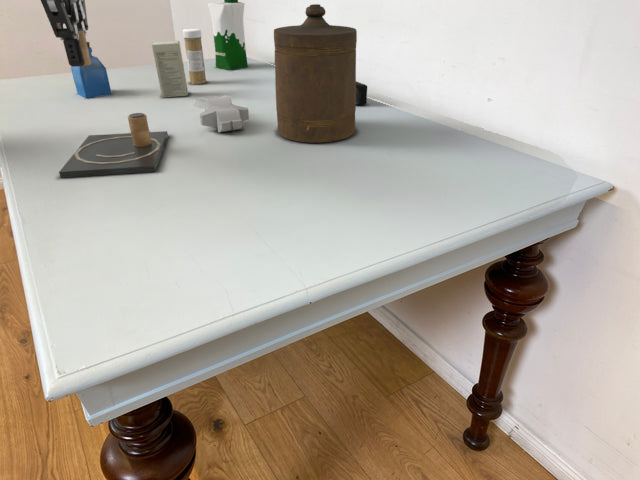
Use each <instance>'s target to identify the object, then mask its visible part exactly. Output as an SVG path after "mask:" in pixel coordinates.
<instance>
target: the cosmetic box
mask: <svg viewBox="0 0 640 480" xmlns="http://www.w3.org/2000/svg"><path fill="white" fill-rule="evenodd" d="M151 49H152V53H153V59H154V64H155V70H156V74H157V79H158V84H159V89H160V94H161V98H174V97H186V96H187V97H188V95H189V89H188V84H187V79H186V73H185V67H184V61H183V54H182V49H181V43H180V40H171V41H154V42H152V43H151Z"/></svg>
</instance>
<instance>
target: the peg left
mask: <svg viewBox="0 0 640 480" xmlns="http://www.w3.org/2000/svg"><path fill="white" fill-rule="evenodd" d="M77 30H78V34H79V40H80V44H81V48H82V52H83V56H84V60H85V64H84V65H83V66H87V65H91V60H90V55H89V51H88V47H87V43H86V41H87V38H86V39H85V37H86V36H85V34H84V31H83V30H81V29H77Z"/></svg>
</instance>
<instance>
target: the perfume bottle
mask: <svg viewBox="0 0 640 480" xmlns="http://www.w3.org/2000/svg"><path fill="white" fill-rule="evenodd" d="M90 44H91V43H90V41H87V46H88V50H89V54H90V58H91V59H90V60H91V65H87V66H70V70H71V74H72V78H73V82H74V86H75V91H76V93H77V95H78V96H81V97H83V98H85V99H91V98H98V97H102V96H109V95H113V93H112V88H111V85H110V80H109V76H108V71H107V68H106V66H105V65H104V64H103V62H102V61H101V60H100V58H98V56H95V55H93V49H92V47H91V45H90Z"/></svg>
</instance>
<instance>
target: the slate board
mask: <svg viewBox="0 0 640 480" xmlns="http://www.w3.org/2000/svg"><path fill="white" fill-rule="evenodd" d="M149 132H150V137H151V144H150V145H148V146H145V147H136V146H134V145H133V140H132V135H131V132H127V133H126V132H125V133H124V132H123V133H110V134H109V133H108V134H106V133H105V134H90V135H88V136H87V137H86V138H85V139H84V140H83V142H82V143H81V144H80V145H79V147H78V148H77V149H76V150H75V152H74V153H73V154H72V155H71V157H70V158H69V159H68V160H67V161H66V162H65V164H64V165H63V166H62V167H61V169H60V170H59V171H58V174H59V177H60V178H61V179H66V178H80V177H82V178H83V177H94V176H95V177H97V176H114V175H127V174H143V173H145V174H146V173H155V172H156V171H157V168H158V165H159V163H160V160H161V156H162V155H163V152H164V148H165V145H166V143H167V140H168V138H169V134H168V131H167V130H163V131H161V130H160V131H149Z"/></svg>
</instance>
